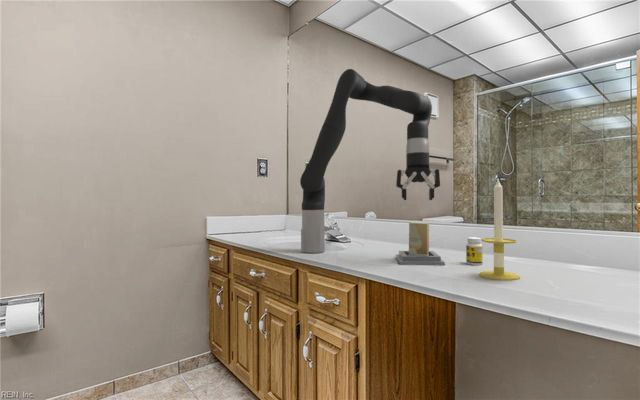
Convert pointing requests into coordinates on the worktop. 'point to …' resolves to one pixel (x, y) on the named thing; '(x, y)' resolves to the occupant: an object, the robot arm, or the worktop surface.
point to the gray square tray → (419, 259)
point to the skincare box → (418, 239)
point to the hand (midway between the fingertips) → (417, 200)
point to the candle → (498, 240)
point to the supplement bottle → (474, 251)
